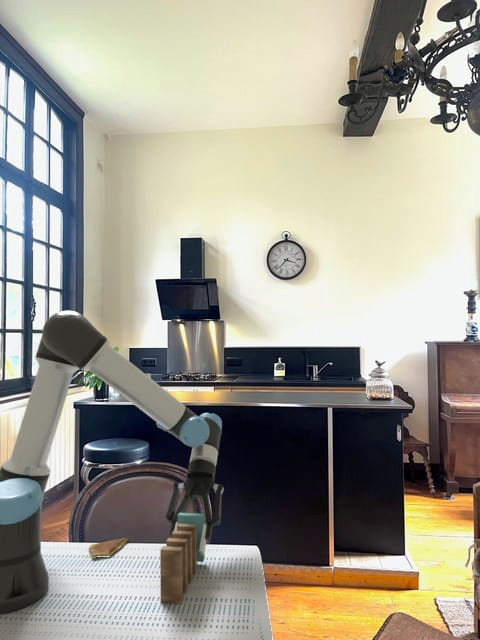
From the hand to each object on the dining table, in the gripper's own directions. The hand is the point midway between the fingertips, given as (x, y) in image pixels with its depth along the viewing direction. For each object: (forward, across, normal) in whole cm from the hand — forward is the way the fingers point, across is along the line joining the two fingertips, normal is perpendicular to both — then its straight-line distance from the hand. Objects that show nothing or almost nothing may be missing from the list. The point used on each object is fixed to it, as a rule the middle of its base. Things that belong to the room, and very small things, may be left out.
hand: (187, 552), depth 107 cm
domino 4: (+9, 0, +3) cm, 10 cm away
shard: (-2, +25, -10) cm, 27 cm away
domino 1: (0, 0, -5) cm, 5 cm away
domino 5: (+12, 0, +6) cm, 13 cm away
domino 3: (+6, 0, 0) cm, 6 cm away
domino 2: (+3, 0, -3) cm, 5 cm away
